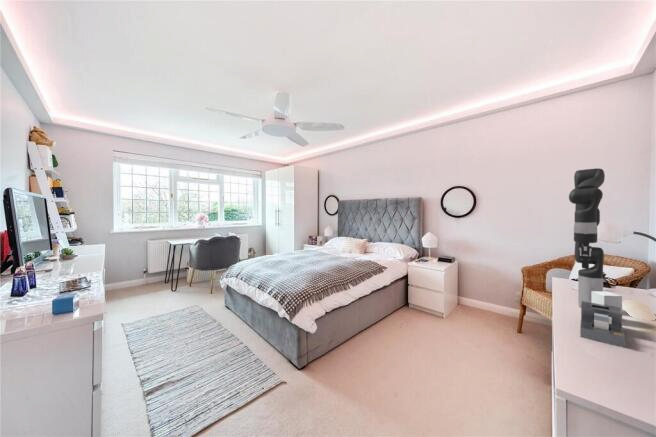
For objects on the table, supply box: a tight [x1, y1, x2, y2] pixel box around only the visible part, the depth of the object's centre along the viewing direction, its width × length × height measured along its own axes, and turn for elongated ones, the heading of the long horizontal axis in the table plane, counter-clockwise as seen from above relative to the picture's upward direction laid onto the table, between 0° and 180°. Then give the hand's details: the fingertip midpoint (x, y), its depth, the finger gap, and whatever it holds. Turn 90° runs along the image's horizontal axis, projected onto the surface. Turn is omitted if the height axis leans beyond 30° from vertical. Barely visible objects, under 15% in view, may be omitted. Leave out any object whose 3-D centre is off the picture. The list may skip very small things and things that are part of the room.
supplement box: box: [591, 290, 623, 314], centre depth 119 cm, size 7×7×13 cm
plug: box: [594, 313, 612, 330], centre depth 103 cm, size 3×5×8 cm, turn 43°
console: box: [579, 301, 626, 348], centre depth 107 cm, size 24×12×9 cm, turn 133°
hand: (585, 266), depth 114 cm, fingers open, 8 cm apart
